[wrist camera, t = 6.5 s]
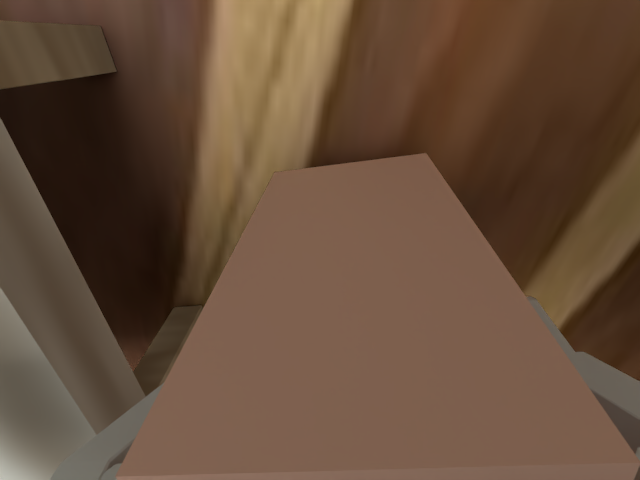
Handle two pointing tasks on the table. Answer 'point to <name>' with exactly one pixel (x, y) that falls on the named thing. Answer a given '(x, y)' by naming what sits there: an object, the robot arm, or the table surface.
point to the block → (372, 350)
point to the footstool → (58, 290)
